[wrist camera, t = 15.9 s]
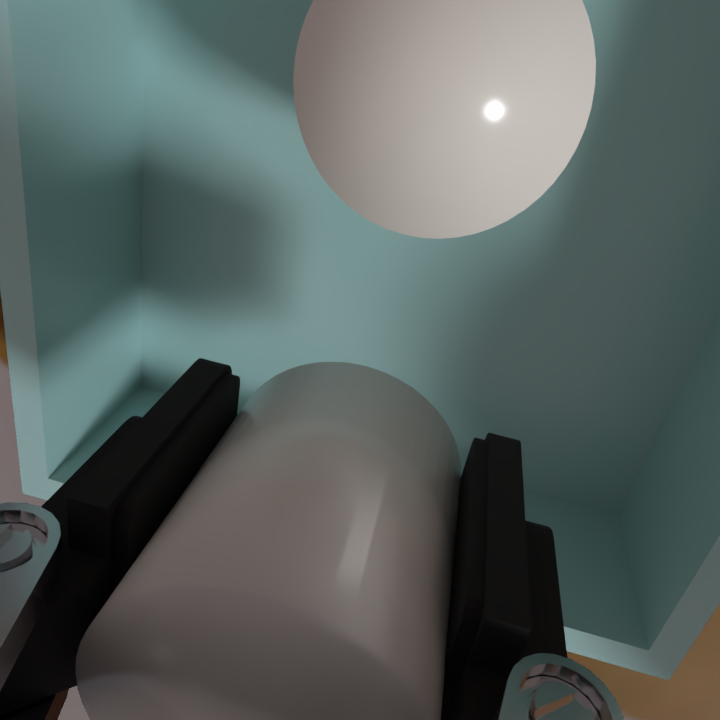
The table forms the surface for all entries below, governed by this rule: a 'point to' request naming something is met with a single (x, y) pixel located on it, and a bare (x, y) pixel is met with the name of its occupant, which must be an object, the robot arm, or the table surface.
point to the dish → (381, 278)
